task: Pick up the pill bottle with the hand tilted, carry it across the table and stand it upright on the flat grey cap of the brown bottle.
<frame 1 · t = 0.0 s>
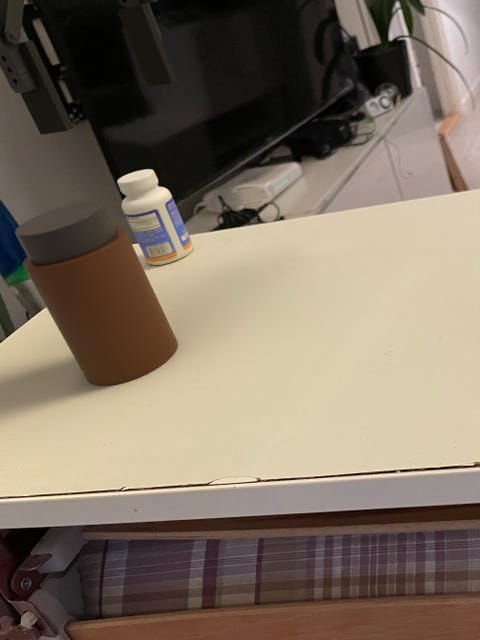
hand: (114, 106, 65), 19 cm above the table, tool pointing down, fingers open, 13 cm apart
pill bottle: (171, 257, 89), on the table
brown bottle: (132, 359, 68), on the table
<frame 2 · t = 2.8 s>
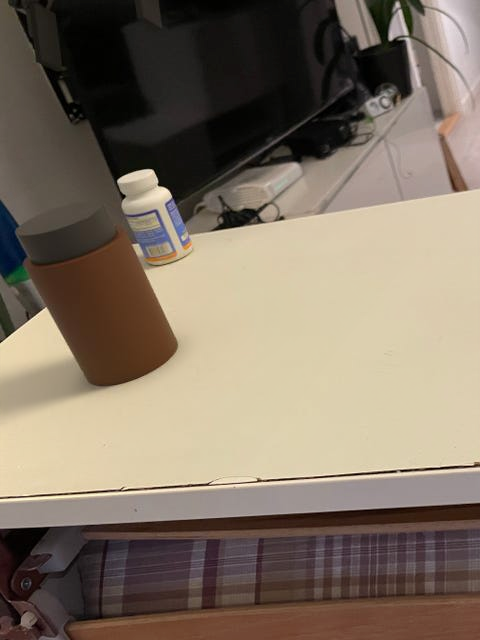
hand: (98, 46, 81), 23 cm above the table, tool tilted 35°, fingers open, 13 cm apart
nothing on the table moved.
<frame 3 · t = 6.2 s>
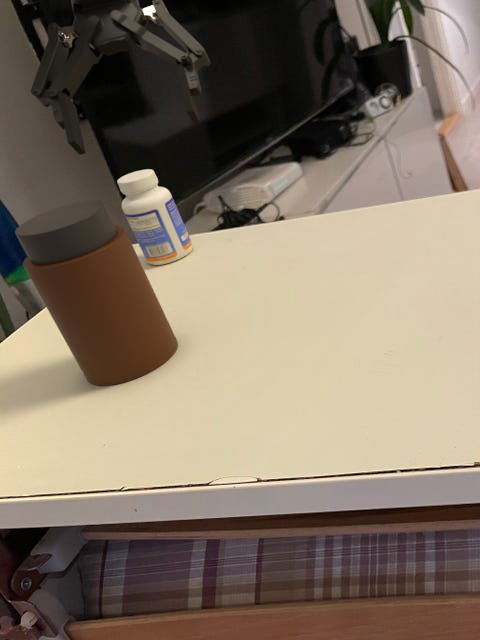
hand: (136, 133, 90), 13 cm above the table, tool tilted 45°, fingers open, 13 cm apart
nothing on the table moved.
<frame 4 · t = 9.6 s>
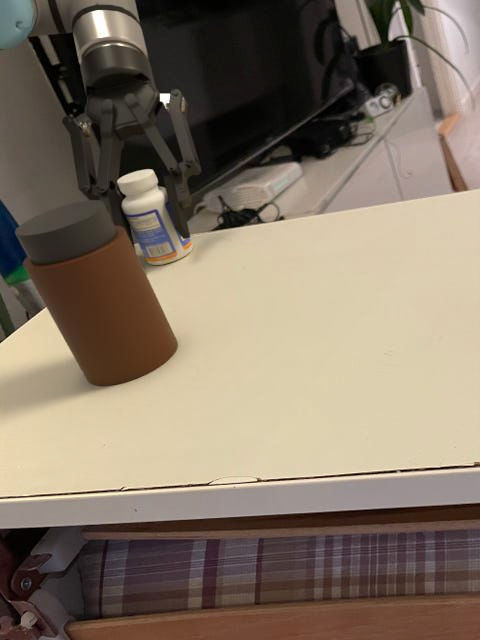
hand: (155, 240, 84), 3 cm above the table, tool tilted 45°, fingers closed on pill bottle, 5 cm apart
pill bottle: (171, 257, 89), on the table, touching gripper
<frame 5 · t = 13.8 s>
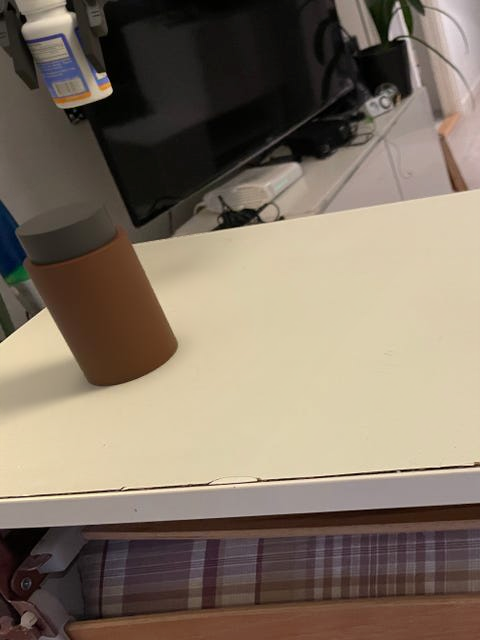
hand: (61, 71, 70), 22 cm above the table, tool tilted 45°, fingers closed on pill bottle, 5 cm apart
pill bottle: (87, 103, 75), point 19 cm above the table, touching gripper
when the fingers open (17 cm above the table, at t = 18.1 s): pill bottle stays where it is, resting on brown bottle.
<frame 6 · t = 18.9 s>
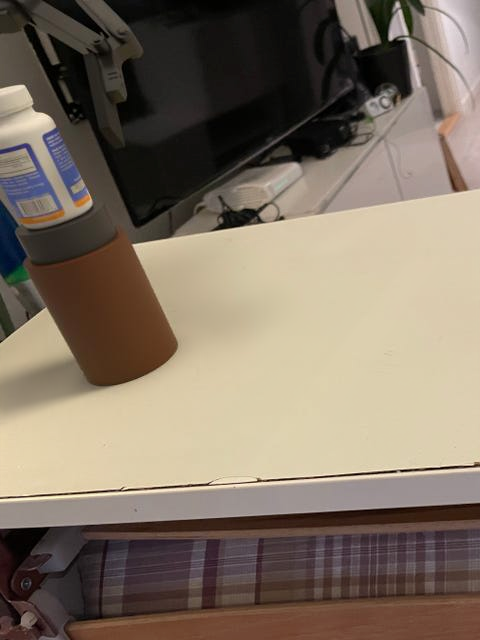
hand: (19, 162, 56), 19 cm above the table, tool tilted 45°, fingers open, 13 cm apart
pill bottle: (61, 219, 61), point 13 cm above the table, touching brown bottle
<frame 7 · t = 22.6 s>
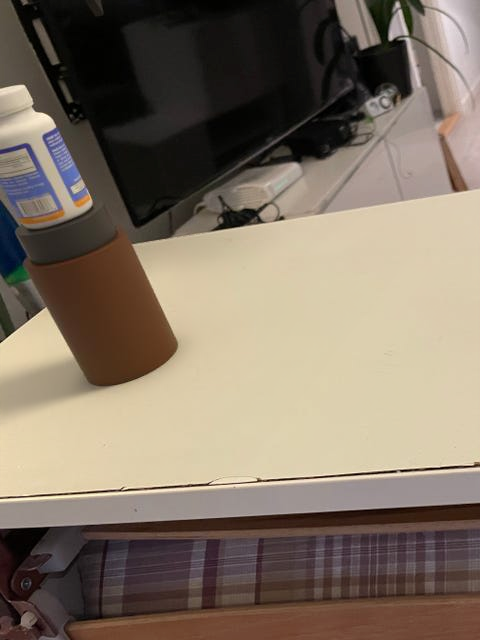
hand: (16, 23, 69), 27 cm above the table, tool tilted 45°, fingers open, 13 cm apart
nothing on the table moved.
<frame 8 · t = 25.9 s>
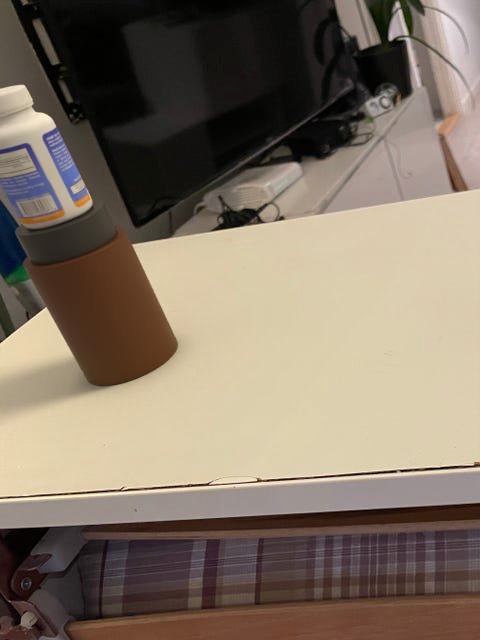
nothing on the table moved.
at the end: pill bottle 0.0 cm off-centre on the brown bottle, point 13.3 cm above the brown bottle's base; pill bottle tilted 0°; the gripper is holding nothing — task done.
